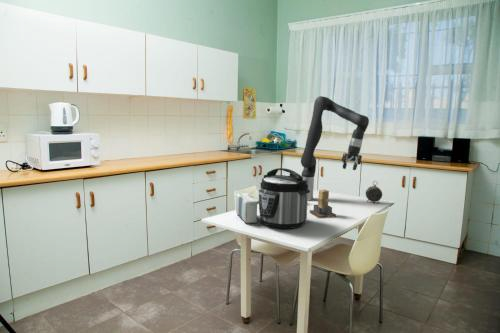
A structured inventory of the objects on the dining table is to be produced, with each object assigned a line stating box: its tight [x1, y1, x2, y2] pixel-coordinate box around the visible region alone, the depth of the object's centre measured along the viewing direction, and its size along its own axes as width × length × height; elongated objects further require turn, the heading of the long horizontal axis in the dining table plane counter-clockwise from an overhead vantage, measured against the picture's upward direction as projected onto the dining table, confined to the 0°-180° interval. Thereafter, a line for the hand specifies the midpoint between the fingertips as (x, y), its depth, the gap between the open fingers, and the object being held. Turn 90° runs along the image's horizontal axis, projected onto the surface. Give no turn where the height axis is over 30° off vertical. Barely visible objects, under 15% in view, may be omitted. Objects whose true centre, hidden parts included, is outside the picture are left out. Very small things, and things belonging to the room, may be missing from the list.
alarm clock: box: [365, 180, 383, 204], centre depth 257 cm, size 11×5×16 cm, turn 84°
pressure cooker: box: [258, 167, 310, 229], centre depth 203 cm, size 30×28×32 cm
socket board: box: [309, 204, 337, 219], centre depth 224 cm, size 12×12×6 cm
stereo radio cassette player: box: [235, 188, 259, 224], centre depth 210 cm, size 21×8×20 cm, turn 18°
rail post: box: [317, 189, 330, 208], centre depth 223 cm, size 4×4×14 cm
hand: (349, 169), depth 235 cm, fingers open, 8 cm apart
